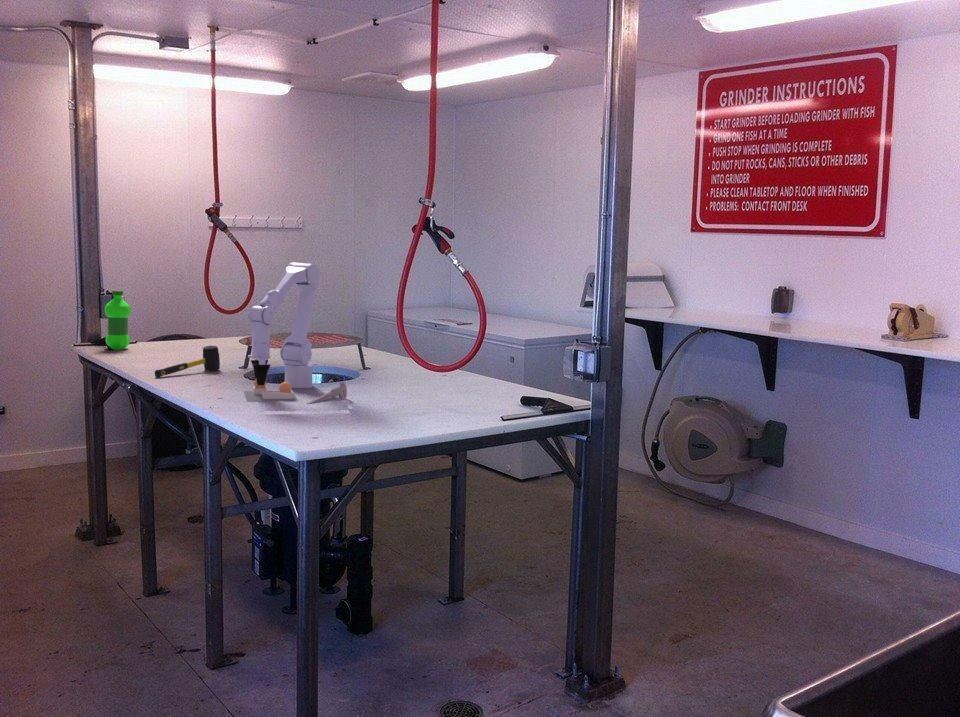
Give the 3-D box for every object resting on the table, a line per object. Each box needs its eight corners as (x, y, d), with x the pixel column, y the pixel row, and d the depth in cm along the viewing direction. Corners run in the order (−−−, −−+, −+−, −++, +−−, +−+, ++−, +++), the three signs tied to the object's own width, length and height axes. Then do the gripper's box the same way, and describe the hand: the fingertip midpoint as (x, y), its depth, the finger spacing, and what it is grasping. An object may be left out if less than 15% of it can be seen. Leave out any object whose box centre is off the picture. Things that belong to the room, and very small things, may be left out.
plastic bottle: (135, 349, 381) (135, 291, 378) (112, 351, 373) (112, 291, 370) (122, 346, 388) (122, 289, 384) (100, 348, 379) (99, 290, 376)
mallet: (161, 379, 315) (162, 352, 313) (150, 377, 317) (150, 350, 316) (223, 370, 340) (223, 346, 338) (212, 369, 343) (212, 344, 341)
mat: (292, 393, 300) (292, 390, 300) (298, 404, 283) (298, 401, 283) (243, 394, 295) (243, 391, 294) (247, 404, 278) (247, 401, 278)
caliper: (344, 399, 297) (344, 380, 296) (346, 399, 296) (347, 381, 295) (303, 407, 279) (304, 388, 278) (306, 408, 278) (307, 388, 278)
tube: (265, 392, 295) (265, 386, 295) (266, 394, 291) (267, 388, 291) (252, 392, 294) (253, 386, 293) (253, 394, 290) (253, 388, 289)
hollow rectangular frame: (291, 396, 290) (292, 390, 290) (293, 398, 286) (293, 392, 286) (261, 396, 287) (262, 390, 287) (263, 399, 283) (263, 392, 283)
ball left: (290, 392, 290) (291, 380, 289) (292, 395, 286) (292, 382, 285) (278, 392, 288) (278, 380, 288) (279, 395, 285) (279, 382, 284)
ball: (265, 388, 295) (265, 376, 294) (266, 390, 291) (266, 378, 290) (253, 388, 293) (253, 376, 293) (254, 390, 290) (254, 378, 289)
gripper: (246, 339, 296) (246, 379, 297) (249, 345, 282) (248, 386, 284) (268, 339, 298) (267, 379, 300) (272, 345, 284) (271, 386, 286)
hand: (259, 383), depth 292 cm, fingers open, 7 cm apart
